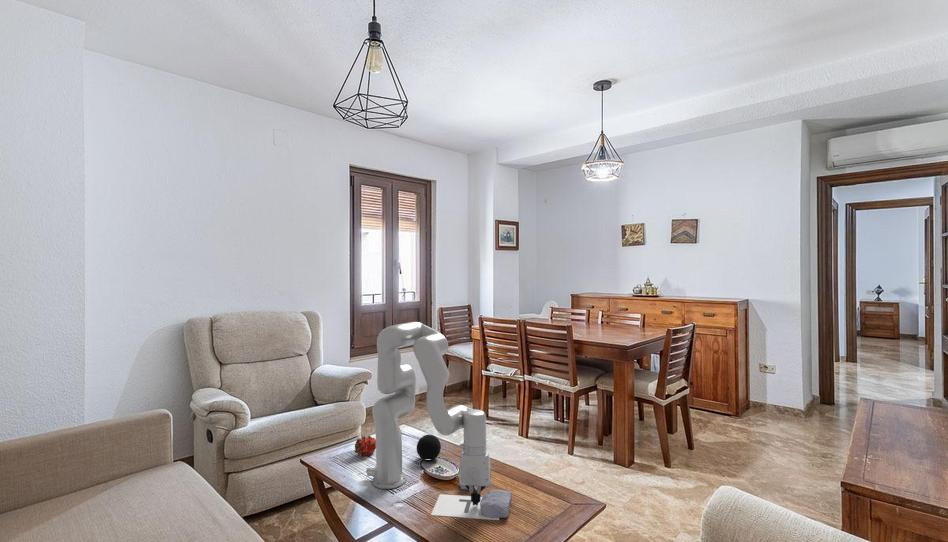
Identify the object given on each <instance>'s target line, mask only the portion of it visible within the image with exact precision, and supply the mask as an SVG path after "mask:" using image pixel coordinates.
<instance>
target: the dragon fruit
mask: <svg viewBox="0 0 948 542" xmlns="http://www.w3.org/2000/svg"><path fill="white" fill-rule="evenodd" d="M354 449H355V450H354V453H356V454H357V456H360V457H362V458H363V457H365V456H369V457H370V456H372V454H374V452H375V451H376V437H372V436H371V435H367V437H366V436H365V435H364V436H362V437H361V438H357V440H356V441H355V444H354Z"/></svg>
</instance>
